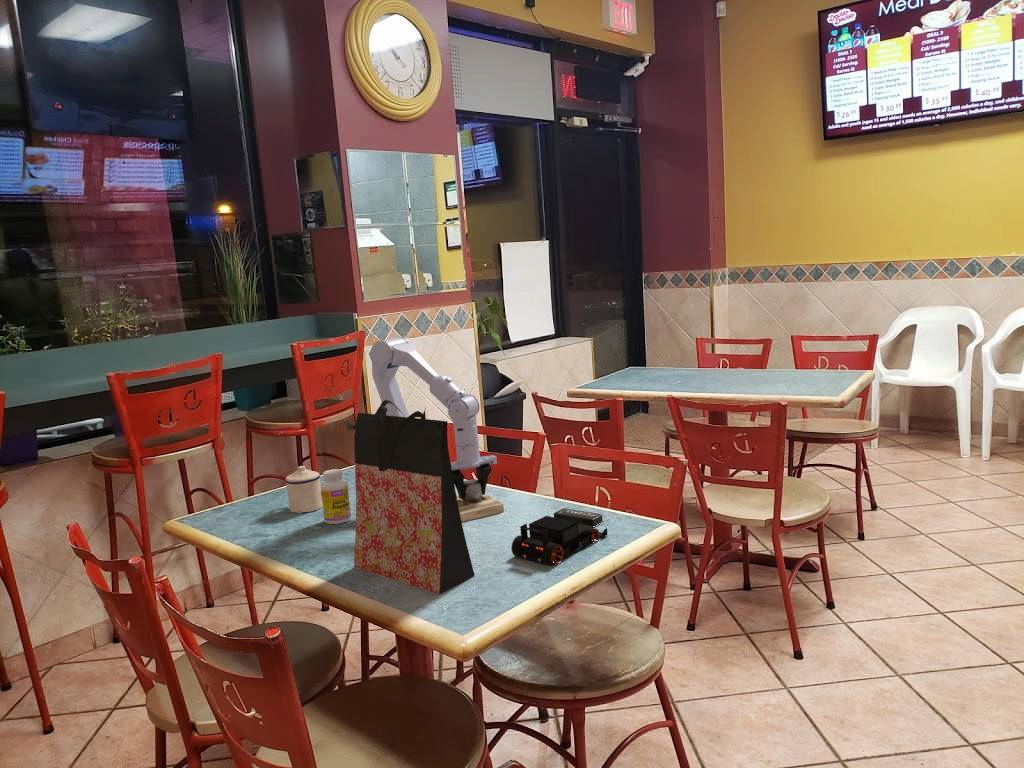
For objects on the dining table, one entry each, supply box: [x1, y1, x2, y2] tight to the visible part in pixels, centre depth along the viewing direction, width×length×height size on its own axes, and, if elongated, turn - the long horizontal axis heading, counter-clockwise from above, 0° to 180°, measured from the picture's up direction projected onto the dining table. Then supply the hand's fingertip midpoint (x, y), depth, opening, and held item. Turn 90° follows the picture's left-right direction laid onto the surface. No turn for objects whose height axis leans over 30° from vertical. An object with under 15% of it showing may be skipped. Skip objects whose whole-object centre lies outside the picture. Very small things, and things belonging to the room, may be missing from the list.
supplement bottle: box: [320, 468, 352, 525], centre depth 192 cm, size 7×7×13 cm
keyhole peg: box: [463, 479, 482, 503], centre depth 193 cm, size 5×5×7 cm
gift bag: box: [345, 400, 476, 595], centre depth 154 cm, size 29×14×35 cm, turn 49°
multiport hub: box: [553, 507, 604, 527], centre depth 177 cm, size 4×11×2 cm, turn 53°
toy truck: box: [510, 515, 608, 566], centre depth 162 cm, size 10×20×7 cm, turn 138°
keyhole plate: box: [456, 493, 505, 523], centre depth 192 cm, size 16×15×2 cm
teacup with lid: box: [284, 465, 323, 513], centre depth 205 cm, size 12×9×12 cm
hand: (472, 496), depth 193 cm, fingers closed on keyhole peg, 5 cm apart
